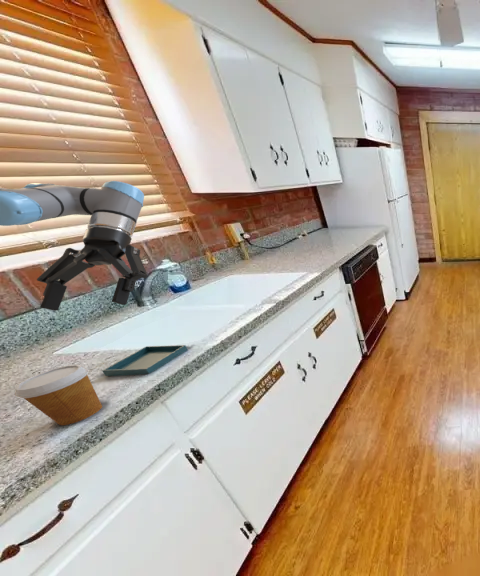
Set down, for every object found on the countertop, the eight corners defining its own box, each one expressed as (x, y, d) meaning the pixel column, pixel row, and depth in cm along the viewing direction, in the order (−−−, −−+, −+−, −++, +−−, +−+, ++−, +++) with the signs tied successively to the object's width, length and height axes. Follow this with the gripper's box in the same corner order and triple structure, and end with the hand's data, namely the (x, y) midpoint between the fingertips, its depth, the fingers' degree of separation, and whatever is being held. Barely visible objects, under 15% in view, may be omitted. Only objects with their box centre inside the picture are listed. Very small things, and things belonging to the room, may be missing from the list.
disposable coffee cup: (71, 408, 73) (38, 370, 69) (123, 396, 77) (96, 359, 72) (33, 438, 65) (-7, 397, 61) (93, 423, 69) (60, 383, 64)
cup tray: (105, 376, 84) (101, 370, 83) (149, 351, 95) (146, 346, 94) (149, 374, 85) (146, 369, 84) (188, 350, 96) (185, 345, 95)
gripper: (177, 237, 87) (160, 305, 80) (67, 242, 81) (38, 315, 74) (153, 223, 80) (131, 296, 73) (31, 227, 74) (-5, 306, 67)
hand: (84, 306), depth 73 cm, fingers open, 13 cm apart
